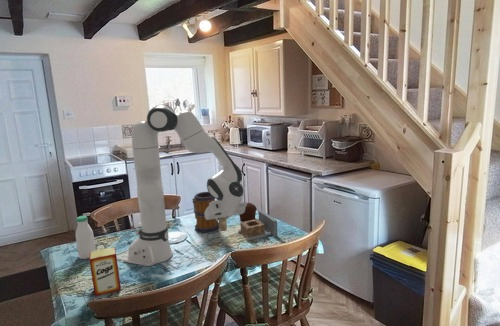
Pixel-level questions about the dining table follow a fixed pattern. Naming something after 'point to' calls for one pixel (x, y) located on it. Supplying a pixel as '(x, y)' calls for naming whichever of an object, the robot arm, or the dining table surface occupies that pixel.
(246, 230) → the socket block
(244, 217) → the muffin
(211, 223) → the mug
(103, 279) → the baking soda box
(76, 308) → the dining table surface
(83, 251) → the milk bottle
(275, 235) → the backstop
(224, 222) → the dowel
